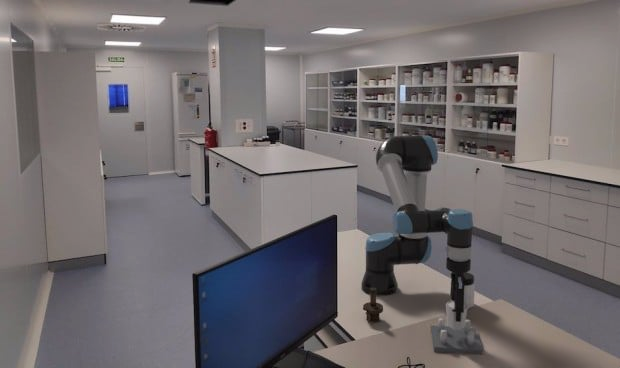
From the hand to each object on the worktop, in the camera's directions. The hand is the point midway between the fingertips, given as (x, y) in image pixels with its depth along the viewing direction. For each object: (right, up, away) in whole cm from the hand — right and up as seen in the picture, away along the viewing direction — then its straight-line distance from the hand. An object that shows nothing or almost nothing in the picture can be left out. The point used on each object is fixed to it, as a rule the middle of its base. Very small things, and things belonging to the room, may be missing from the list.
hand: (455, 324), depth 166 cm
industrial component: (-24, -3, +18) cm, 31 cm away
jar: (+11, -1, +29) cm, 31 cm away
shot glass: (0, 0, 0) cm, 1 cm away
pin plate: (0, -6, +1) cm, 6 cm away
